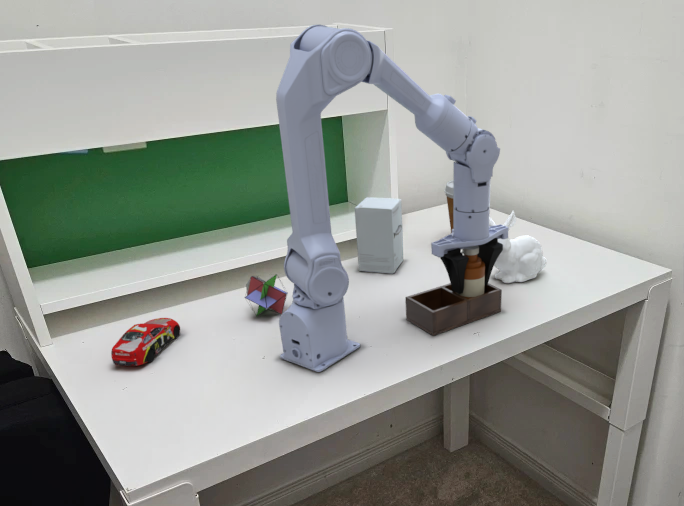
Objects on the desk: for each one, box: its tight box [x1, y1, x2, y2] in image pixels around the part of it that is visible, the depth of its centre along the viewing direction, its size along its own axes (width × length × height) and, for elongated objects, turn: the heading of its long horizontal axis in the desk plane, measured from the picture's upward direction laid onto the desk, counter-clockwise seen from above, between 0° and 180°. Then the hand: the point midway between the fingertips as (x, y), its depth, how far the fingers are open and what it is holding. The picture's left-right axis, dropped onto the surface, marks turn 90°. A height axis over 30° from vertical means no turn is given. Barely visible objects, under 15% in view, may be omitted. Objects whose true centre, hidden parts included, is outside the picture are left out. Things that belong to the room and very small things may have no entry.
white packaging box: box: [354, 196, 404, 275], centre depth 126 cm, size 7×7×13 cm
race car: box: [110, 317, 181, 367], centre depth 100 cm, size 13×5×4 cm, turn 170°
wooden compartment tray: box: [405, 282, 503, 337], centre depth 110 cm, size 14×8×4 cm, turn 128°
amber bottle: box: [457, 245, 485, 299], centre depth 109 cm, size 5×5×10 cm
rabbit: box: [489, 210, 548, 284], centre depth 123 cm, size 12×9×12 cm
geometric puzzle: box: [243, 273, 289, 318], centre depth 110 cm, size 7×7×8 cm
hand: (470, 287), depth 110 cm, fingers closed on amber bottle, 5 cm apart
